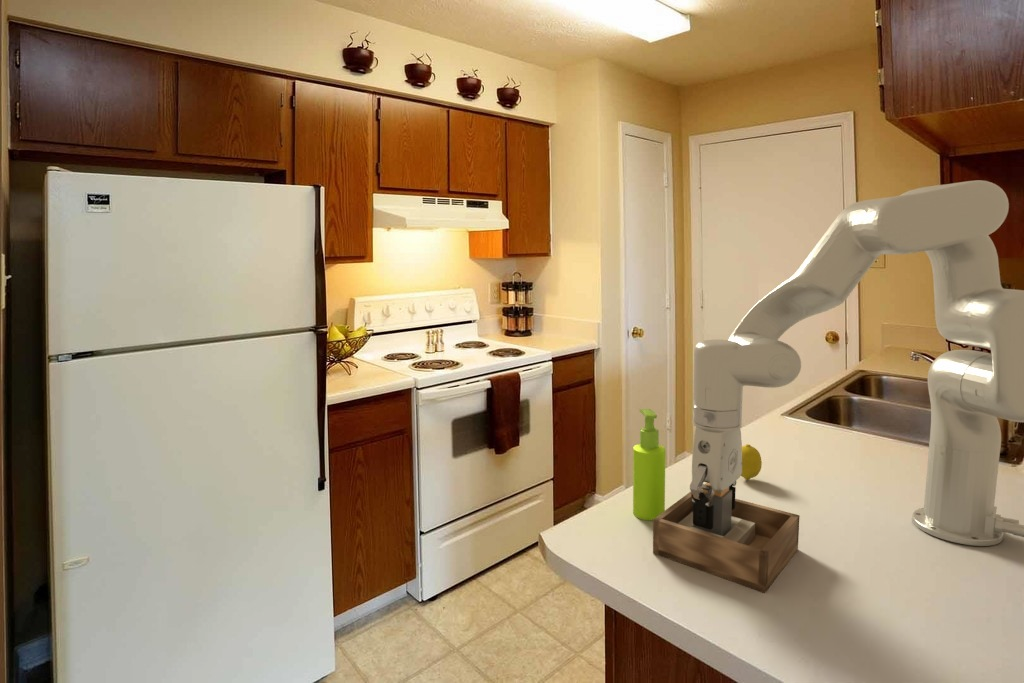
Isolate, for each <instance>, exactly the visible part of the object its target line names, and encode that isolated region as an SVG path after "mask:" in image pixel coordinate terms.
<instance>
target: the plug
mask: <svg viewBox="0 0 1024 683" xmlns="http://www.w3.org/2000/svg"><path fill="white" fill-rule="evenodd" d="M703 484H704V485H708V486H711V485H710V483H707V482H705V483H703ZM702 493H704V494H705V495H706V497H707V495H708V490H704V489H702ZM711 505H714V519H713V528H712V529H711V530H709V529H706V528H703V527H699V526H698V529H701V530H705V531H708V532H711V533H714V534H718V535H721V536H725V535H726V534H727V533H728V532H729V531H730V530H731V514H732V490H729V487H728V488H726V489H725V490H724V491H722V492H717V491H716V490H715V492H714V496H713V500H712V504H711Z"/></svg>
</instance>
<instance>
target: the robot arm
mask: <svg viewBox="0 0 1024 683" xmlns="http://www.w3.org/2000/svg"><path fill="white" fill-rule="evenodd" d="M1009 205H1010V203H1009V198H1008V196H1007V194H1006V192H1005V191H1004V190H1003V188H1001V187H1000V186H999V185H997V184H996V183H993V182H990V181H988V180H982V179H981V180H979V179H978V180H967V181H961V182H953V183H948V184H947V183H945V184H937V185H936V184H935V185H932V186H922V187H918V188H914V189H910V190H908V191H905V192H904V193H902V194H900V195H896V196H888V197H879V198H872V199H871V198H870V199H865V200H860V201H856V202H854V203H852V204H849V205H848V206H846V207H845V208H844V209H843V210H842V211H841V212H840V213H838V215H837V217H836V218H835V219H834V220H833V221H832V223H831V224H830V226H829V227H828V228H827V230H826V231H825V232H824V234H823V235H822V236H821V238H820V239H819V241H817V243H816V244H815V246H814V247H813V249H812V250H811V251H810V252H809V254H808V255H807V257H806V258H805V259H804V260H803V262H802V263H801V264H800V265H799V267H798V269H796V271H795V272H794V273H793V274H792V275H791V276H790V277H788V279H786V280H785V281H782V282H781V283H780V284H779V285H778V286H777V287H775V288H774V289H773V290H772V291H770V292H769V293H768V294H766V295H765V296H764V297H763V298H761V299H760V300H758V301H757V303H755V304H754V305H753V306H752V307H751V308H750V310H749V311H748V312H747V313H746V314H745V315H744V316H743V318H742V319H741V320H740V321H739V323H738V324H737V326H736V327H735V329H734V330H733V331H732V333H731V334H730V336H729V338H728V339H705V340H702V341H698V342H697V343H696V345H695V347H694V349H693V350H694V351H693V391H692V392H693V393H692V394H693V395H692V397H693V398H692V400H693V401H692V402H693V403H692V425H693V426H694V427H695V430H694V436H693V437H694V438H693V444H692V445H693V446H692V457H691V459H692V460H691V482H690V484H689V491H690V492H691V494H692V495H691V496H692V502H693V524H694V525H696V526H699V527H703V528H706V529H709V530H711V529H712V528H713V519H714V505H711V504H712V500H713V496H714V492H715V490H716V491H717V492H722V491H724V490H725V489H726V488H728V487H729V490H732V510H733V509H734V508H735V499H736V491H737V488H736V485H737V481H738V480H739V478H740V477H742V476H741V474H742V446H743V445H742V443H743V440H742V431H741V428H742V425H743V423H742V422H743V419H742V417H743V393H744V392H743V391H744V390H743V389H744V387H745V386H746V387H747V386H748V387H758V388H766V389H767V388H768V389H769V388H770V389H771V388H772V389H775V388H781V387H785V386H787V385H789V384H791V383H792V382H793V381H795V380H796V379H797V377H798V376H799V375H800V372H801V370H802V369H801V368H802V361H801V358H800V354H799V353H798V352H797V350H795V348H794V347H792V346H791V345H790V344H788V343H786V342H783V341H780V340H779V339H780V338H781V337H782V336H783V335H784V334H785V333H786V332H787V331H788V330H790V328H792V327H793V326H794V325H796V324H798V323H799V322H800V321H803V320H805V319H807V318H809V317H813V316H815V315H819V314H823V313H824V312H828V311H829V310H832V309H834V308H836V307H838V306H840V305H842V304H844V303H845V302H846V300H847V299H848V298H849V296H850V295H851V294H852V292H853V290H854V289H855V288H856V287H857V286H858V284H859V283H860V281H861V280H862V279H863V277H864V276H865V275H866V274H867V273H868V271H869V270H870V269H871V267H872V266H873V265H874V263H875V262H876V261H877V259H878V258H880V256H881V255H909V254H916V253H922V252H924V253H925V254H926V255H927V257H928V259H929V261H930V265H931V269H932V271H931V272H932V278H933V294H934V295H933V299H934V301H933V302H934V315H935V317H934V318H935V325H936V329H937V331H938V333H939V335H941V336H942V337H943V339H946V340H948V341H950V342H953V343H955V344H961V345H965V346H970V347H971V346H972V347H975V348H976V347H977V348H982V349H988V350H990V352H985V351H981V350H980V351H978V350H972V349H953V350H949V351H946V352H944V353H941V354H940V355H939V356H937V357H936V358H935V359H934V360H933V361H932V363H931V365H930V366H929V369H928V371H927V389H928V395H929V400H930V433H929V441H928V442H929V444H928V455H927V456H928V457H927V465H926V466H927V468H926V477H925V479H926V481H925V490H924V503H923V507H922V508H918V509H915V510H914V511H913V512H912V518H911V519H912V522H913V524H914V525H915V526H916V527H917V528H919V529H920V530H921V531H923V532H925V533H926V534H928V535H931V536H932V537H935V538H939V539H941V540H944V541H947V542H951V543H955V544H960V545H966V546H976V547H989V546H990V547H991V546H995V545H998V544H1000V543H1002V541H1003V540H1004V533H1007V534H1012V535H1013V536H1017V537H1021V538H1024V524H1020V520H1019V519H1016V518H1011V517H1010V518H1009V517H1003V516H1002V514H998V513H997V508H998V507H997V506H995V501H996V493H997V484H998V473H999V463H1000V456H1001V455H1000V454H1001V445H1002V432H1001V426H1000V423H999V420H998V418H999V419H1001V420H1002V419H1003V420H1006V421H1010V422H1015V423H1024V289H1023V290H1022V289H1011V288H1004V287H1003V286H1002V283H1001V275H1000V273H1001V272H1000V267H999V265H1000V264H999V255H998V252H997V248H996V246H995V244H994V241H993V240H992V238H991V236H989V235H991V234H992V233H994V232H996V231H997V230H998V229H999V228H1001V225H1003V223H1004V222H1005V220H1006V219H1007V216H1008V214H1009V208H1010V206H1009ZM705 483H710V485H711V486H708V485H704V484H705ZM702 489H704V490H708V495H707V497H706V495H705V494H704V493H702Z"/></svg>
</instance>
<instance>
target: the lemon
mask: <svg viewBox="0 0 1024 683" xmlns="http://www.w3.org/2000/svg"><path fill="white" fill-rule="evenodd" d="M762 464H763V462H762V457H761V454H760V452H759V450H758V449H757V448H756V447H754V446H752V445H751V444H749V443H748V444H745V445H742V474H741V476H740V477H742V478H743V479H744V480H745V481H749V480H750V479H753V478H755V477H757V476H758V475H759V474H760V472H761V470H762Z"/></svg>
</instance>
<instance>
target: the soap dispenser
mask: <svg viewBox="0 0 1024 683" xmlns="http://www.w3.org/2000/svg"><path fill="white" fill-rule="evenodd" d="M639 413H642V415H643V416H644V426H643V427H642V428H641V429H640V430H639V431H640V432H639V444H635V445H634V446H633V450H632V456H633V457H632V459H633V460H632V462H633V464H632V465H633V466H632V474H633V475H632V489H633V490H632V513H633V515H634V516H635V517H636V518H637V519H639V520H643V521H651V522H652V521H653V519H654V518H656V517H657V516H658V515H660V514H661V513H662V512H664V511H665V510H666V447H664V446H663V445H660V444H659V436H660V434H659V433H660V432H659V429H658V428H656V427H655V419H657V417H658V416H657V414H656V413H655V411H654V410H653V409H651V408H649V409H648V408H644V409H642V408H641V409H639Z"/></svg>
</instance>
